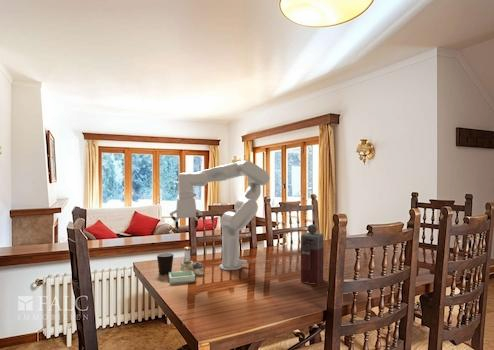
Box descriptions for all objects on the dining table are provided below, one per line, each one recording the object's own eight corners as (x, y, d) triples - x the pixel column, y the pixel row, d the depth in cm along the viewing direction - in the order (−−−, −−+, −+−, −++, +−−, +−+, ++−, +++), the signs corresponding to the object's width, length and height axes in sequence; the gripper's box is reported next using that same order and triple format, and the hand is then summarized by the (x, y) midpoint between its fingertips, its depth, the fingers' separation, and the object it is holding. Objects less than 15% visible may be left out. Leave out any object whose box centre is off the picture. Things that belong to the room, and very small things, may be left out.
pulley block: (201, 270, 183) (201, 259, 183) (203, 274, 176) (203, 263, 176) (180, 272, 180) (180, 261, 180) (182, 276, 173) (182, 264, 173)
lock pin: (190, 267, 179) (190, 246, 179) (190, 268, 176) (191, 247, 176) (183, 267, 178) (183, 247, 178) (184, 269, 175) (184, 248, 175)
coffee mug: (169, 276, 173) (169, 257, 173) (153, 275, 174) (154, 256, 174) (178, 270, 184) (178, 251, 184) (163, 269, 186) (163, 251, 186)
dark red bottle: (298, 283, 162) (299, 225, 162) (306, 277, 172) (306, 222, 172) (317, 286, 158) (317, 227, 158) (323, 280, 167) (323, 224, 167)
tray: (192, 276, 173) (192, 270, 173) (194, 281, 164) (195, 275, 164) (168, 278, 170) (168, 272, 170) (169, 284, 160) (169, 277, 160)
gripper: (201, 195, 183) (201, 226, 183) (169, 196, 178) (169, 228, 178) (203, 196, 176) (204, 228, 176) (169, 197, 171) (170, 230, 171)
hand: (186, 228), depth 177 cm, fingers open, 9 cm apart
